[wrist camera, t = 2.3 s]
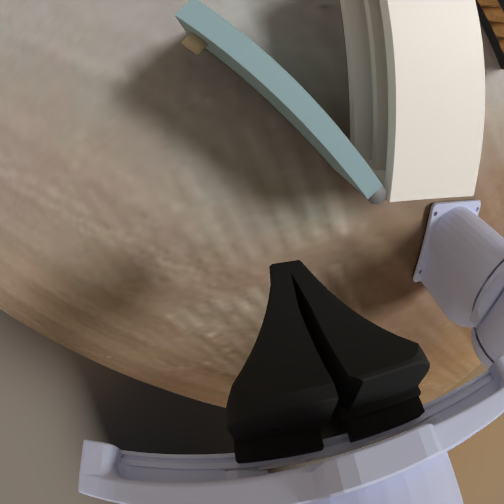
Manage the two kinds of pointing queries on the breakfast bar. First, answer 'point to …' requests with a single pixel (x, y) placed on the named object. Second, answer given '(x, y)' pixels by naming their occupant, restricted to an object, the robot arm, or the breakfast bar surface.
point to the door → (278, 93)
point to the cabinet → (416, 94)
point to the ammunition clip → (493, 24)
